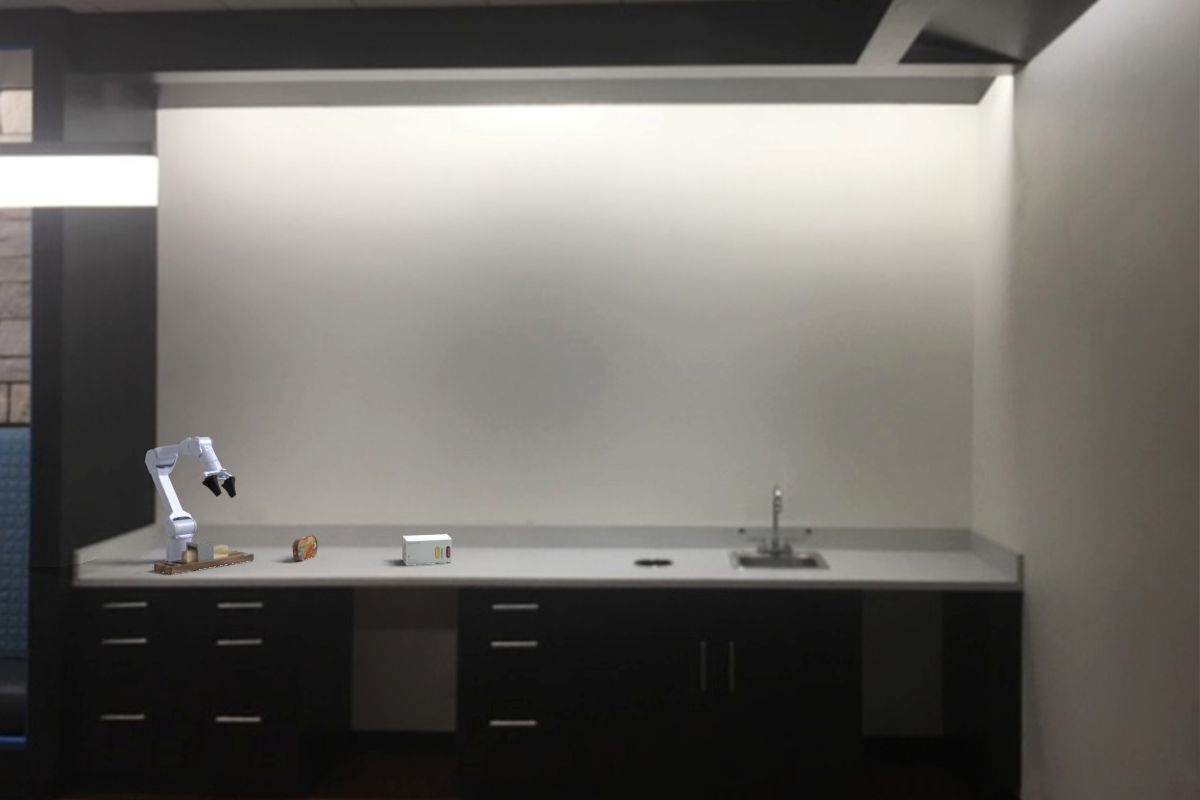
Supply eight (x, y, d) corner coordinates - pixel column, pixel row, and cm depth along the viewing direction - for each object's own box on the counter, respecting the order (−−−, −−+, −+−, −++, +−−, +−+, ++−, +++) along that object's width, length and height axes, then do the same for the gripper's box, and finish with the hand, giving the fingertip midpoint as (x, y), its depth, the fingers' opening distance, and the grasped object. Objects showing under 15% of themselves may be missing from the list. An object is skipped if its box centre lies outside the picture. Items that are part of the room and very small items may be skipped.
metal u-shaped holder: (186, 559, 353) (185, 542, 353) (201, 557, 358) (201, 539, 358) (198, 562, 348) (198, 544, 348) (213, 559, 353) (213, 541, 353)
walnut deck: (154, 570, 346) (154, 563, 346) (235, 557, 371) (235, 550, 371) (172, 574, 338) (172, 566, 338) (253, 561, 364) (253, 553, 364)
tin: (298, 562, 360) (298, 540, 360) (291, 562, 361) (290, 539, 361) (318, 555, 375) (318, 533, 375) (311, 555, 376) (310, 533, 375)
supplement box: (405, 566, 352) (405, 540, 352) (402, 560, 365) (401, 535, 365) (452, 563, 357) (452, 538, 357) (447, 557, 370) (447, 533, 370)
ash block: (181, 561, 350) (181, 550, 349) (222, 555, 362) (221, 544, 362) (187, 562, 347) (187, 551, 347) (228, 556, 360) (228, 545, 360)
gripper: (204, 456, 346) (220, 487, 342) (232, 460, 360) (247, 490, 355) (190, 468, 348) (206, 499, 343) (219, 471, 361) (234, 501, 357)
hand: (226, 495), depth 349 cm, fingers open, 7 cm apart
